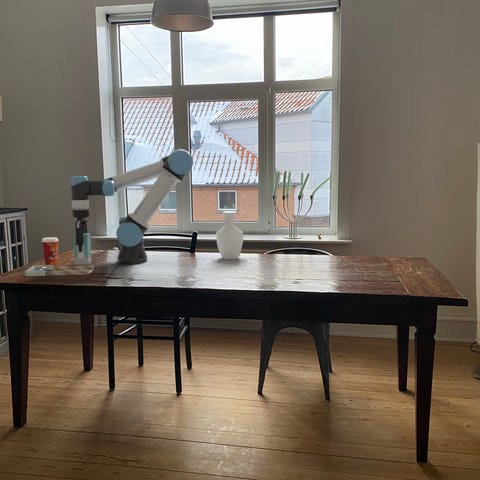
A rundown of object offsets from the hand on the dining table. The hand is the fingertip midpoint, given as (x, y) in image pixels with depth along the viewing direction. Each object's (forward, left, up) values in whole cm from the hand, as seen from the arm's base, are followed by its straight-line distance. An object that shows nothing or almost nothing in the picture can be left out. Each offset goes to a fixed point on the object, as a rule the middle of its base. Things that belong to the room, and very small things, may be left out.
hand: (83, 256), depth 215 cm
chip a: (+16, +14, -5) cm, 22 cm away
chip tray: (+17, +11, -6) cm, 21 cm away
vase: (-72, -18, -6) cm, 75 cm away
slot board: (+3, +11, -6) cm, 13 cm away
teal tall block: (0, 0, -3) cm, 3 cm away
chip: (+16, +9, -5) cm, 20 cm away
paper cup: (+17, -7, -6) cm, 19 cm away
